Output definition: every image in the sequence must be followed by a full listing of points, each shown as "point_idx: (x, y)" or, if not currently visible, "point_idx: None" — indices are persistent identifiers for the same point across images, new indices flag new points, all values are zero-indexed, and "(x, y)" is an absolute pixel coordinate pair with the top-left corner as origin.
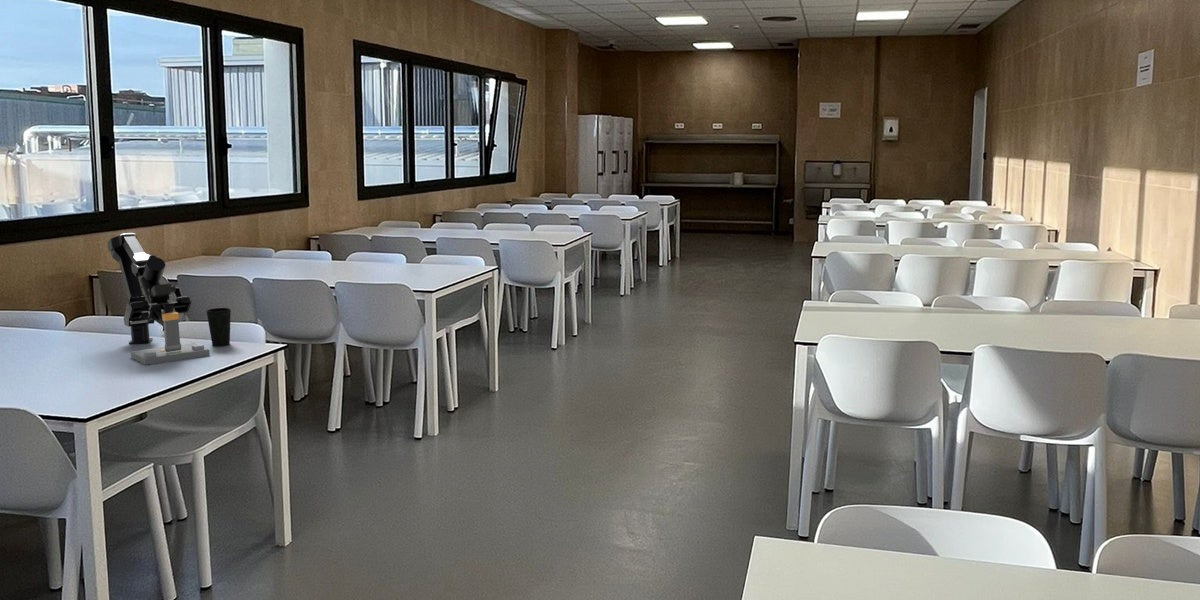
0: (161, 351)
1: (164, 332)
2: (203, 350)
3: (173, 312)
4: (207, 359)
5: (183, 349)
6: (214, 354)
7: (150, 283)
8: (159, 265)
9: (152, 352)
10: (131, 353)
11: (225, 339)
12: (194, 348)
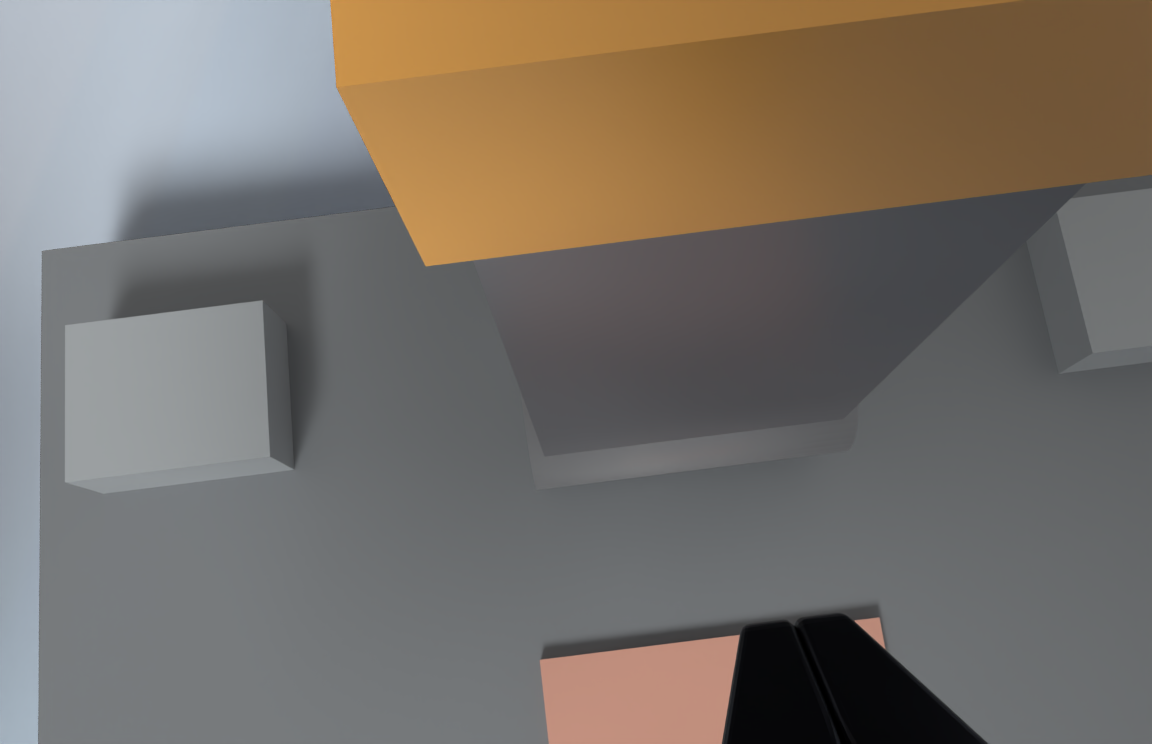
0: (878, 611)
1: (933, 317)
2: (157, 237)
3: (550, 21)
4: (232, 27)
5: (447, 535)
6: (8, 329)
7: None
8: None
9: (1120, 217)
10: None
11: None
12: (276, 321)
